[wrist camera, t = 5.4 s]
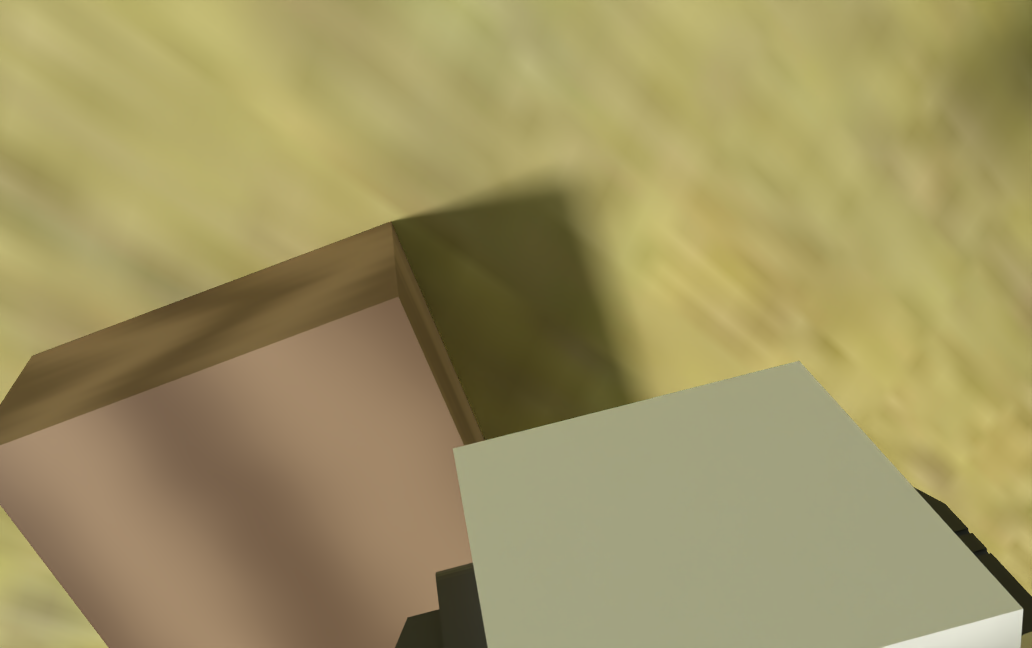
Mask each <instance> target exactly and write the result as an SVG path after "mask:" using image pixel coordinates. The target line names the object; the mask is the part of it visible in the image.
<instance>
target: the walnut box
mask: <svg viewBox="0 0 1032 648" xmlns="http://www.w3.org/2000/svg"><path fill="white" fill-rule="evenodd" d="M481 441H485V440H484V438H483V435H482V433H481V431H480V428H479V426H478V424H477V421H476V419H475V417H474V414H473V412H472V410H471V407H470V405H469V403H468V400H467V398H466V396H465V393H464V391H463V389H462V386H461V384H460V382H459V379H458V377H457V374H456V372H455V370H454V367H453V365H452V363H451V360H450V358H449V356H448V353H447V351H446V349H445V346H444V344H443V342H442V339H441V337H440V335H439V332H438V330H437V328H436V325H435V323H434V321H433V318H432V316H431V314H430V311H429V309H428V307H427V304H426V302H425V300H424V297H423V295H422V293H421V290H420V288H419V286H418V283H417V281H416V279H415V276H414V274H413V272H412V269H411V267H410V265H409V262H408V260H407V258H406V255H405V253H404V250H403V248H402V246H401V243H400V241H399V239H398V236H397V234H396V232H395V229H394V227H393V225H392V222H388V223H386V224H383V225H380V226H378V227H375V228H372V229H370V230H367V231H364V232H362V233H359V234H356V235H354V236H351V237H348V238H346V239H343V240H340V241H338V242H335V243H332V244H330V245H327V246H324V247H322V248H319V249H316V250H314V251H311V252H308V253H306V254H303V255H300V256H298V257H295V258H292V259H289V260H287V261H284V262H281V263H279V264H276V265H273V266H271V267H268V268H265V269H263V270H260V271H257V272H255V273H252V274H249V275H247V276H244V277H241V278H239V279H236V280H233V281H231V282H228V283H225V284H223V285H220V286H217V287H215V288H212V289H209V290H207V291H204V292H201V293H199V294H196V295H193V296H191V297H188V298H185V299H183V300H180V301H177V302H175V303H172V304H169V305H167V306H164V307H161V308H159V309H156V310H153V311H151V312H148V313H145V314H143V315H140V316H137V317H135V318H132V319H129V320H127V321H124V322H121V323H119V324H116V325H113V326H111V327H108V328H105V329H103V330H100V331H97V332H95V333H92V334H89V335H87V336H84V337H81V338H79V339H76V340H73V341H71V342H68V343H65V344H63V345H60V346H57V347H55V348H52V349H49V350H47V351H44V352H41V353H38V354H36V355H33V356H32V357H31V358H30V360H29V361H28V363H27V364H26V366H25V368H24V369H23V371H22V372H21V374H20V375H19V377H18V378H17V380H16V381H15V383H14V384H13V386H12V387H11V389H10V391H9V392H8V394H7V395H6V397H5V398H4V400H3V401H2V403H1V404H0V505H1V507H2V508H3V509H4V510H5V512H6V513H7V514H8V516H9V517H10V518H11V520H12V521H13V522H14V524H15V525H16V526H17V528H18V529H19V530H20V532H21V533H22V534H23V535H24V537H25V538H26V539H27V541H28V542H29V543H30V545H31V546H32V547H33V549H34V550H35V551H36V553H37V554H38V555H39V557H40V558H41V559H42V560H43V562H44V563H45V564H46V566H47V567H48V568H49V570H50V571H51V572H52V574H53V575H54V576H55V578H56V579H57V580H58V581H59V583H60V584H61V585H62V587H63V588H64V589H65V591H66V592H67V593H68V595H69V596H70V597H71V599H72V600H73V601H74V603H75V604H76V605H77V606H78V608H79V609H80V610H81V612H82V613H83V614H84V616H85V617H86V618H87V620H88V621H89V622H90V624H91V625H92V626H93V628H94V629H95V630H96V631H97V633H98V634H99V635H100V637H101V638H102V639H103V641H104V642H105V643H106V645H107V646H108V647H109V648H395V646H396V644H397V641H398V639H399V637H400V634H401V632H402V629H403V627H404V625H405V622H406V620H407V617H411V616H415V615H419V614H423V613H426V612H430V611H434V610H438V609H439V602H438V594H437V586H436V576H435V574H436V572H438V571H442V570H446V569H450V568H453V567H457V566H461V565H465V564H469V563H473V561H472V555H471V549H470V543H469V538H468V532H467V526H466V521H465V515H464V509H463V504H462V498H461V492H460V486H459V481H458V475H457V469H456V464H455V458H454V452H453V448H457V447H461V446H465V445H469V444H473V443H477V442H481Z"/></svg>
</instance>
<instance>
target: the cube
mask: <svg viewBox="0 0 1032 648" xmlns="http://www.w3.org/2000/svg"><path fill="white" fill-rule="evenodd" d="M453 452H454V458H455V464H456V469H457V475H458V481H459V486H460V492H461V498H462V504H463V509H464V515H465V521H466V526H467V532H468V538H469V543H470V549H471V555H472V561H473V566H474V572H475V578H476V583H477V589H478V595H479V601H480V606H481V612H482V618H483V623H484V629H485V635H486V640H487V646H488V648H1021V634H1022V620H1023V608H1022V607H1021V606H1020V605H1019V604H1018V603H1017V601H1016V600H1015V599H1014V598H1013V597H1012V596H1011V595H1010V594H1009V593H1008V591H1007V590H1006V589H1005V588H1004V587H1003V586H1002V585H1001V584H1000V583H999V581H998V580H997V579H996V578H995V577H994V576H993V575H992V574H991V573H990V572H989V570H988V569H987V568H986V567H985V566H984V565H983V564H982V563H981V562H980V560H979V559H978V558H977V557H976V556H975V555H974V554H973V553H972V552H971V551H970V549H969V548H968V547H967V546H966V545H965V544H964V543H963V542H962V541H961V539H960V538H959V537H958V536H957V535H956V534H955V533H954V532H953V531H952V529H951V528H950V527H949V526H948V525H947V524H946V523H945V522H944V521H943V520H942V518H941V517H940V516H939V515H938V514H937V513H936V512H935V511H934V510H933V508H932V507H931V506H930V505H929V504H928V503H927V502H926V501H925V500H924V498H923V497H922V496H921V495H920V494H919V493H918V492H917V491H916V490H915V489H914V487H913V486H912V485H911V484H910V483H909V482H908V481H907V480H906V479H905V477H904V476H903V475H902V474H901V473H900V472H899V471H898V470H897V469H896V467H895V466H894V465H893V464H892V463H891V462H890V461H889V460H888V459H887V458H886V456H885V455H884V454H883V453H882V452H881V451H880V450H879V449H878V448H877V446H876V445H875V444H874V443H873V442H872V441H871V440H870V439H869V438H868V437H867V435H866V434H865V433H864V432H863V431H862V430H861V429H860V428H859V427H858V425H857V424H856V423H855V422H854V421H853V420H852V419H851V418H850V417H849V415H848V414H847V413H846V412H845V411H844V410H843V409H842V408H841V407H840V406H839V404H838V403H837V402H836V401H835V400H834V399H833V398H832V397H831V396H830V394H829V393H828V392H827V391H826V390H825V389H824V388H823V387H822V386H821V384H820V383H819V382H818V381H817V380H816V379H815V378H814V377H813V376H812V375H811V373H810V372H809V371H808V370H807V369H806V368H805V367H804V366H803V365H802V363H801V362H800V361H797V362H793V363H789V364H785V365H781V366H777V367H773V368H769V369H765V370H761V371H757V372H753V373H749V374H746V375H742V376H738V377H734V378H730V379H726V380H722V381H718V382H714V383H710V384H706V385H702V386H698V387H694V388H690V389H686V390H682V391H678V392H674V393H670V394H666V395H663V396H659V397H655V398H651V399H647V400H643V401H639V402H635V403H631V404H627V405H623V406H619V407H615V408H611V409H607V410H603V411H599V412H595V413H591V414H587V415H584V416H580V417H576V418H572V419H568V420H564V421H560V422H556V423H552V424H548V425H544V426H540V427H536V428H532V429H528V430H524V431H520V432H516V433H512V434H508V435H505V436H501V437H497V438H493V439H489V440H485V441H481V442H477V443H473V444H469V445H465V446H461V447H457V448H453Z"/></svg>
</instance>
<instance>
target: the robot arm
mask: <svg viewBox="0 0 1032 648" xmlns="http://www.w3.org/2000/svg"><path fill="white" fill-rule="evenodd" d="M914 489H915V490H916V491H917V492H918V493H919V494H920V495H921V496H922V497H923V498H924V500H925V501H926V502H927V503H928V504H929V505H930V506H931V507H932V508H933V510H934V511H935V512H936V513H937V514H938V515H939V516H940V517H941V518H942V520H943V521H944V522H945V523H946V524H947V525H948V526H949V527H950V528H951V529H952V531H953V532H954V533H955V534H956V535H957V536H958V537H959V538H960V539H961V541H962V542H963V543H964V544H965V545H966V546H967V547H968V548H969V549H970V551H971V552H972V553H973V554H974V555H975V556H976V557H977V558H978V559H979V560H980V562H981V563H982V564H983V565H984V566H985V567H986V568H987V569H988V570H989V572H990V573H991V574H992V575H993V576H994V577H995V578H996V579H997V580H998V581H999V583H1000V584H1001V585H1002V586H1003V587H1004V588H1005V589H1006V590H1007V591H1008V593H1009V594H1010V595H1011V596H1012V597H1013V598H1014V599H1015V600H1016V601H1017V603H1018V604H1019V605H1020V606H1021V607H1022V608H1023V620H1022V634H1021V648H1032V596H1031V595H1030V594H1029V593H1028V592H1027V591H1026V590H1025V589H1024V588H1023V587H1022V586H1021V585H1020V584H1019V583H1018V581H1017V580H1016V579H1015V578H1014V577H1013V576H1012V575H1011V574H1010V573H1009V572H1008V571H1007V570H1006V569H1005V568H1004V566H1003V565H1002V564H1001V563H1000V562H999V561H998V560H997V559H996V558H995V557H994V556H993V555H992V554H991V553H990V554H988V552H987V549H986V547H985V546H984V545H983V544H982V543H981V542H980V541H979V540H978V539H977V538H976V536H975V535H974V534H973V533H971V534H970V533H969V531H968V528H967V527H966V526H965V525H964V524H963V523H962V521H961V520H960V519H959V518H958V517H957V516H956V515H955V514H954V513H953V512H952V511H951V510H950V509H949V508H948V506H947V505H946V504H944V503H942V502H941V501H939V500H937V499H935V498H933V497H931V496H929V495H927V494H926V493H924V492H922V491H920V490H918V489H916V488H914ZM435 576H436V586H437V594H438V602H439V609H438V610H434V611H430V612H426V613H423V614H419V615H415V616H411V617H407V620H406V622H405V625H404V627H403V629H402V632H401V634H400V637H399V639H398V641H397V644H396V646H395V648H488V646H487V640H486V635H485V629H484V623H483V618H482V612H481V606H480V601H479V595H478V589H477V583H476V578H475V572H474V566H473V563H469V564H465V565H461V566H457V567H453V568H450V569H446V570H442V571H438V572H436V574H435Z"/></svg>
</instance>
